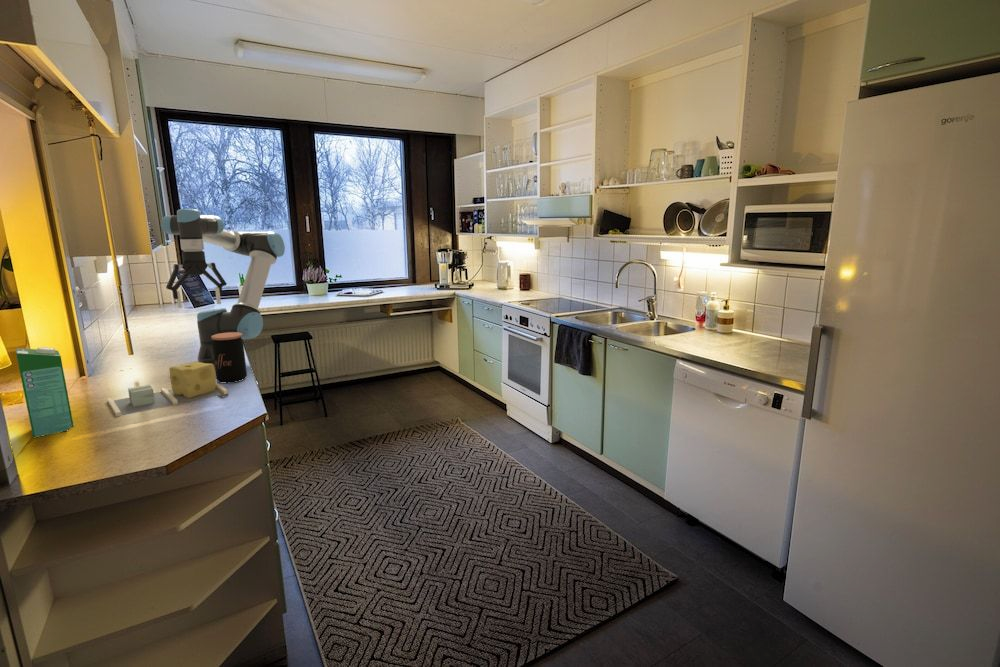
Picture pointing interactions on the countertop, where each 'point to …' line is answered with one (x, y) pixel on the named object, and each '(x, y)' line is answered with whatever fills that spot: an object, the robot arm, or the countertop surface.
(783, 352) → the countertop surface
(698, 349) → the countertop surface
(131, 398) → the sage block
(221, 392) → the slot board
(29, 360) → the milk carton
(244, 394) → the countertop surface
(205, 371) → the cheese
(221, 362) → the coffee jar
